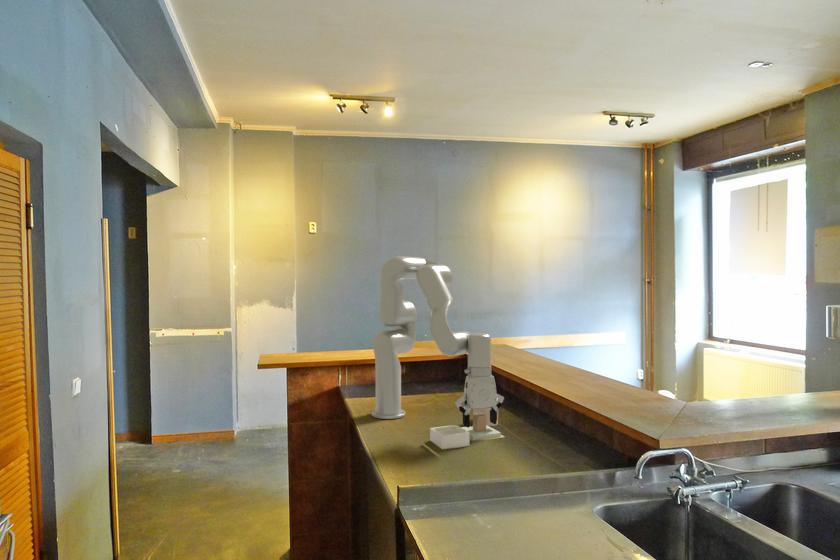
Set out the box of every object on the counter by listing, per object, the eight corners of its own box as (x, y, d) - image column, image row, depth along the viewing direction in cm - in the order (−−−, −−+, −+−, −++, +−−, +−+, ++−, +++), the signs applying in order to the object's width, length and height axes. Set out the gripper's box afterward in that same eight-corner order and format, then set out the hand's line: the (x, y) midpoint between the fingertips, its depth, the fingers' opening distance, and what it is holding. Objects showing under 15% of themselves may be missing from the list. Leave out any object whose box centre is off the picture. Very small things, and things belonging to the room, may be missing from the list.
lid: (458, 431, 169) (458, 412, 169) (485, 428, 173) (485, 409, 173) (472, 440, 160) (472, 420, 160) (500, 436, 164) (500, 417, 164)
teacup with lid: (501, 428, 175) (501, 393, 175) (475, 428, 174) (475, 394, 174) (493, 418, 187) (493, 386, 187) (468, 419, 186) (468, 386, 186)
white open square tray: (430, 442, 159) (430, 428, 159) (456, 439, 163) (456, 424, 163) (442, 451, 151) (442, 436, 151) (469, 447, 154) (469, 432, 154)
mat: (454, 432, 170) (454, 430, 170) (486, 428, 174) (486, 426, 174) (471, 443, 159) (471, 441, 159) (505, 438, 163) (505, 437, 163)
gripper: (460, 375, 160) (461, 430, 160) (508, 371, 166) (509, 424, 166) (450, 371, 167) (450, 424, 166) (497, 368, 173) (497, 419, 173)
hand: (480, 424), depth 166 cm, fingers open, 9 cm apart
